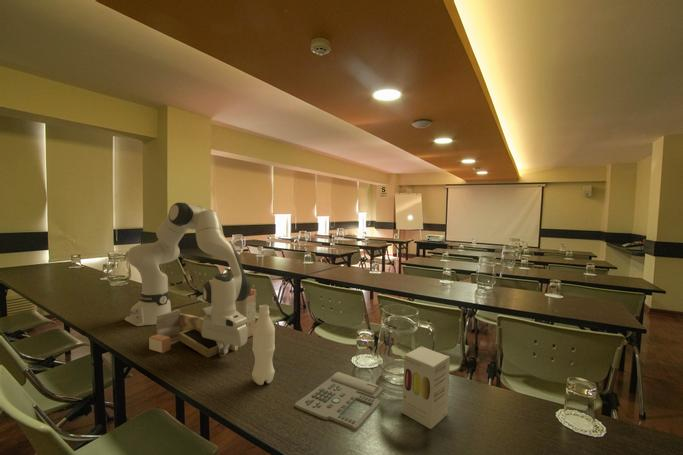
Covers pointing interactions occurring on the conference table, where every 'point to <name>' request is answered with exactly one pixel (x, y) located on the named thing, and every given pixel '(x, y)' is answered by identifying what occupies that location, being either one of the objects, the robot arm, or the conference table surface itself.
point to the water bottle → (263, 347)
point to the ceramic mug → (205, 311)
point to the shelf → (179, 325)
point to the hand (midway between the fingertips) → (223, 352)
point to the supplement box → (425, 386)
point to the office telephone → (341, 399)
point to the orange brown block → (159, 343)
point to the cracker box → (248, 311)
